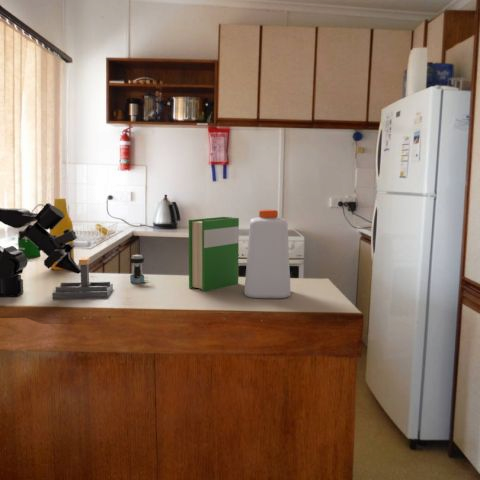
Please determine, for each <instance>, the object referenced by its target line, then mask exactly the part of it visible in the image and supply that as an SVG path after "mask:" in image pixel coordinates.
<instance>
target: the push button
mask: <svg viewBox="0 0 480 480" xmlns="http://www.w3.org/2000/svg"><path fill="white" fill-rule="evenodd" d="M144 260H145V257H143V254H132V255H131V257H129V261H130V264H131V272H132V273H131V275H130V279H129V280H130V283H131V284H139V283H141V282H143V283H145V281H148V279H149V277H145V275H144V273H143V263H144V262H145V261H144ZM141 284H142V283H141Z"/></svg>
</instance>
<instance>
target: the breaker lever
mask: <svg viewBox="0 0 480 480" xmlns="http://www.w3.org/2000/svg"><path fill="white" fill-rule="evenodd" d="M90 259H91V258H90V257H81V258H79V259H78V265H79V266H80V268H79V269H80V271H81V272H80V282H81V284H80V285H79V286H91V283H89V282H90V269H89V268H90V266H89V264H90V262H91V261H90Z"/></svg>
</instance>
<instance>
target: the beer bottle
mask: <svg viewBox="0 0 480 480" xmlns="http://www.w3.org/2000/svg"><path fill="white" fill-rule="evenodd" d="M53 206H54V207H56V208H57V209H60V210H61V211H62V212H63V214H64V216H65V217H64V218H63V219H62V220H61V221H60V222H59V223H58V224H57V225H56V226H55V228H54V229H49V233H50V234H51V235H56V236H57V237H59V236H61V235H63V234H64V231H65V230H67V229H70V230H73V231H74V226H73V221H72V218H71V217H70V215H69V213H68V207H67V201H66V198H64V197H63V198H62V197H61V198H60V197H59V198H58V197H57V198H54V204H53ZM68 243H72V244H73V245H74V240H73V241H71V242H68ZM74 248H75V247H74ZM74 248H73V249H72V258H73V260H74V261H75V253H74V252H75V251H74ZM56 264H57V262H55V263H54V264H53V265H52V267H51V268H50V269H52V270H55V271H66V270H65V269H62V268H59V267H55V265H56Z"/></svg>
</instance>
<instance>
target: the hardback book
mask: <svg viewBox="0 0 480 480" xmlns="http://www.w3.org/2000/svg"><path fill="white" fill-rule="evenodd" d="M239 219H240V218H239V217H232V216H231V217H229V216H220V217H219V216H216V217H207V218H195V219H194V218H193V219H188V289H189V290H190V289H191V290H193V289H197V288H198V289H201V291H202V292H203V293H205V292H209V291H213V290H217V289H221V288H225V287H230V286H235V285H238V284H239V246H240V245H239V237H240V235H239V233H240V229H239V228H240V227H239V225H240V220H239Z"/></svg>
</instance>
